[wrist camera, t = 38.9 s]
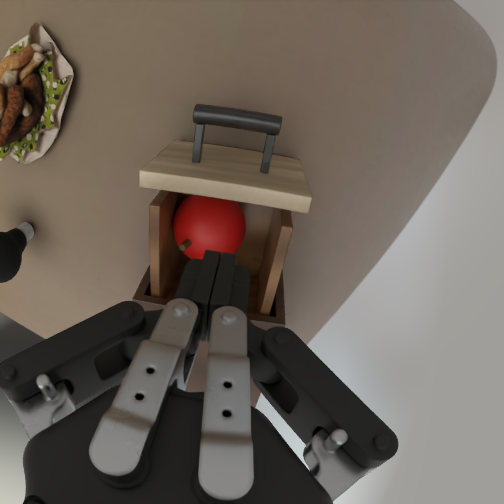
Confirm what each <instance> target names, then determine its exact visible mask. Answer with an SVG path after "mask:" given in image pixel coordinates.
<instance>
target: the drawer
mask: <svg viewBox="0 0 504 504" xmlns="http://www.w3.org/2000/svg"><path fill="white" fill-rule="evenodd" d="M193 122H194V123H197V124H196V127H195V136H194V142H186V141H178V140H174V141H173V142H172V143H171V144H170V145H168V146H167V147H166V148H165V149H164V150H163V151H161V152H160V153H159V154H158V155H157V156H156V157H155V158H154V159H152V160H151V161H150V162H149V163H148V164H147V165H146V166H145V167H144V168H142V169H141V170H140V178H139V187H143V188H151V189H158V190H161V191H160V192H159V193H158V195H157V196H156V197H155V199H154V200H153V201H152V203H151V204H150V206H149V245H150V281H151V296H152V297H157V298H162V299H168V300H173V298H174V296H175V293H176V290H177V287H178V285H179V282H180V279H181V277H182V274H183V272H184V269H185V266H186V264H187V263H188V262H189V261H190V260H192V259H191V258H189V257H188V256H187V255H185V254H184V253H183V252H182V251H181V250H180V249H179V246H178V245H177V243H176V241H175V238H174V234H173V219H174V216H175V213H176V210H177V209H178V207H179V205H180V204H181V203H182V202H183V201H184V200H185V199H186V198H187V197H188V196H190V195H192V194H194V195H201V196H207V197H214V198H220V199H227V200H233V201H236V202H237V203H238V204H239V206H240V207H241V209H242V211H243V213H244V216H245V220H246V233H245V237H244V240H243V242H242V244H241V246H240V247H239V249H238V250H237V251H236V252H235V253H234V254H237V260H236V265H240V266H246V267H247V268H248V270H249V272H250V284H249V294H248V304H247V313H251V314H257V315H264V316H269V314H270V310H271V307H272V303H273V300H274V296H275V293H276V289H277V286H278V282H279V278H280V275H281V271H282V267H283V264H284V260H285V256H286V253H287V249H288V245H289V241H290V238H291V234H292V230H293V225H292V218H291V211H296V212H302V213H308V212H309V208H310V205H311V201H312V196H311V193H310V190H309V187H308V184H307V180H306V177H305V174H304V171H303V169H302V166H301V163H300V160H299V159H294V158H289V157H283V156H278V155H273V154H272V152H273V147H274V142H275V137H276V136H275V135H279V133H280V129H281V123H282V117H281V116H277V115H272V114H266V113H260V112H254V111H248V110H242V109H235V108H228V107H220V106H212V105H204V104H196V106H195V108H194V112H193ZM205 124H208V125H216V126H223V127H230V128H237V129H243V130H250V131H256V132H261V133H267V136H266V141H265V147H264V152H263V153H262V152H256V151H250V150H244V149H237V148H231V147H224V146H217V145H210V144H203V139H204V131H205ZM290 210H291V211H290Z"/></svg>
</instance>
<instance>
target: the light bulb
mask: <svg viewBox="0 0 504 504" xmlns="http://www.w3.org/2000/svg"><path fill="white" fill-rule="evenodd" d="M33 235H34V230H33V228H32V226H31V225H30V224H29V223H27V222H23V223H21V224H20V225H19V226H18V227H17V228H15V229H12V230H10V231H8V232H0V283H3V282H7V281H9V280H11V279H12V278H13V277H14V276H15V275H16V274H17V272H18V271H19V268H20V265H21V260H22V252H23V251H24V249H25V247H26V245H27V243H28V242H29V241H30V240H31V239H32V238H33Z"/></svg>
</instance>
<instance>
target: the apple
mask: <svg viewBox="0 0 504 504" xmlns="http://www.w3.org/2000/svg"><path fill="white" fill-rule="evenodd" d="M245 233H246V220H245V216H244V213H243V211H242V209H241V207H240V206H239V204H238V203H237V202H236V201H233V200H227V199H220V198H214V197H207V196H201V195H194V194H192V195H190V196H188V197H187V198H186V199H185V200H184V201H183V202H182V203H181V204H180V205H179V207H178V209H177V210H176V213H175V216H174V219H173V234H174V238H175V241H176V243H177V245H178V246H179V249H180V250H181V251H182V252H183V253H184V254H185V255H187V256H188V257H189V258H191V259H193V258H195V259H201V260H202V259H203V256H204V253H205V250H212V251H219V252H221V254H222V252H225V253H232V254H234V253H235V252H236V251H237V250H238V249H239V247H240V246H241V244H242V242H243V240H244V237H245Z"/></svg>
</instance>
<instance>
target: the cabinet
mask: <svg viewBox="0 0 504 504" xmlns="http://www.w3.org/2000/svg"><path fill="white" fill-rule="evenodd" d="M169 301H171V300H168V299H162V298H157V297H152V296H151V281H150V265H149V267H148V269H147V271H146V273H145V275H144V277H143V279H142V281H141V283H140V285H139V287H138V289H137V291H136V293H135V295H134V297H133V302H136V303H139V304H140V305H141V306H142V307H143V308H144V311H153V310H160V309H163V308H164V307H165V305H166V304H167V303H168V302H169ZM247 316H248V319H249V320H250V321H251V322H252V323H253V324H254V325H255V326H257V327H259V328H261V329H264V330H266V331H267V330H268V329H269V328H272V327H278V326H279V327H285V306H284V287H283V269H282V271H281V275H280V278H279V282H278V286H277V289H276V293H275V296H274V300H273V303H272V307H271V310H270V314H269V316H264V315H257V314H251V313H247ZM207 333H208V331H207ZM208 350H209V342H207V336H206V340H205V341H200V342H199V347H198V350H197V355H196V358H195V361H194V364H193V367H192V370H191V374H190V377H189V380H188V383H187V386H186V390H185V391H186V392H205V381H206V370H207V359H208ZM260 393H261V392H260V390H259V389H258V388H257V387H256V385H255V384H254V382H253V379H252V378H251V377H250V405H251V406H253V407H254V408H255V407H256V404H257V402H258V399H259V396H260Z"/></svg>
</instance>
